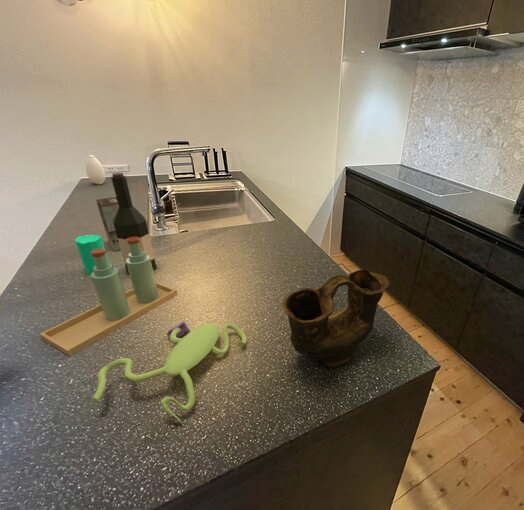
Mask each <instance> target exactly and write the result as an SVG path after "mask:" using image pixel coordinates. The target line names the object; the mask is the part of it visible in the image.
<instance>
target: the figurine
mask: <svg viewBox="0 0 524 510" xmlns="http://www.w3.org/2000/svg"><path fill="white" fill-rule="evenodd" d="M227 329H230V330H233V331H234V332H235V333H237V334H238V336H239V337H240V339H241V341H239V342H238V344H237V345H238V346H239V347H244V346H245V345H246V344H247V341H248V340H247V339H248V338H247V336H246V333H245V332H244V331H243V330H242V329H241V328H240V327H239V326H238V325H236V324H233V323H226V324H225V325H223V327H222V336H223V348H222V349H220V348H219V347H216V346H215V345H216V343H217V341H218V339H219V335H220V329H219V326H218V325H217V324H215V323H205V324H202V325H200V326H197V327H195V328H194V329H193V330H191V331H190V328H189V327H188V324H187V323H186V321H185V320H183V321H181V322H180V323H178V324H177V325H175V326H174V327H173V328H171V329H170V330H168V331H167V332H166V333H165V334H166V336H168V339H169V340H170V341H171V342H172V343H174V344H175V345H174V347H173V348H172V350H171V351H170V352H169V354H168V355H167V356H166V360H165V362H164V365H163V366H162V367H160V368H157V369H154V370H151V371H149V372H145V373H142V374H141V373H140V374H135V373H133V372H132V369H133V359H131V358H129V357H124V358H123V357H122V358H118V359H115V360H113V361H111V362H109V363H107V364H106V365H104V366H103V367H102V368H101V369H100V370H99V371H98V373H97V381H98V385H97V389H96V391H95V393H94V394H93V396H92V397H91V399H92V401H93V402H94V403H95V404H98V403H99V401H100V400H101V398H102V397H103V395H104V393H105V391H106V386H107V373H108V372H109V371H110V370H112V369H114V368H116V367H119V366H122V365H125V368H124V377H125V379H127V380H129V381H130V382H135V383H139V382H144V381H147V380H150V379H154V378H156V377H159V376H161V375H164V374H167V375H168V376H173V377H175V376H179V375H180V377H181V378H182V380H183V381H184V383H185V387H186V391H187V396H188V399H187V400H188V401H187V403H186V404H185V405H184V404H181V403H180V402H178V401H177V400H176V399H175V398H174V397H171V396H168V395H167V396H165V397H163V399H161V400H160V405H161V407H162V408H163V409H164V410H165V411H166V412H167V413H168V414H170V415H171V416H173V417H174V418H176V419H177V420H178V421H179V423H180V424H183V422H182V421H181V419H180V418H179V417H178V416H177V415H176V413H175V412H173V411H172V409H171V408H170V407H169V405H168V403H170V402H171V401H172V402H173V403H175V404H176V406H178V407H179V408H180V409H181V410H182V411H183V412H190V411H191V410H192V408H193V407H195V402H196V394H195V393H196V392H195V388H194V383H193V380H192V378H191V376H190V375H189V370H191V369H193V368H194V367H196V366H197V365H198V364H199V363H201V361H202V360H203V359H205V357H207V355H208V354H209V353H210V352H211V353H213V354H214V355H218V356H224V355H226V353H227V352H228V349H229V346H230V338H229V334H228V331H227ZM183 335H184V336H183ZM181 336H183V338H180V337H181Z"/></svg>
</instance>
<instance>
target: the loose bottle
mask: <svg viewBox="0 0 524 510" xmlns="http://www.w3.org/2000/svg"><path fill="white" fill-rule="evenodd" d="M3 312H4V306H3V304H2V302H1V301H0V315H1V314H2V313H3Z"/></svg>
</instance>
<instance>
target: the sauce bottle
mask: <svg viewBox="0 0 524 510" xmlns="http://www.w3.org/2000/svg"><path fill="white" fill-rule="evenodd" d="M85 172H86V175H87V177H88V178H89V180H90V181H91V182H92V183H94V184H95V185H101V184H103V183H104V182H105V180H106V171H105V169H104V166H103V165H102V164H101V162H100V161H99V160H98V159H97V157H95V155H92V152H91V151H89V154H88V158H87V159H86V163H85Z"/></svg>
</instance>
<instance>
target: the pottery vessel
mask: <svg viewBox="0 0 524 510" xmlns="http://www.w3.org/2000/svg"><path fill="white" fill-rule="evenodd" d="M389 284H390V282H389V280H388V278H387V276H385V275H383V274H379V273H378V272H372V271H369V270H365V269H358V270H355V271H352V272H349V273H347V274H337V275H333V276H331V277H330V278H328V279H327V280H326V282H324V284H322V285H321V286H319V287H318V288H317V287H304V288H299V289H296V290H295V291H293V292H291V293H289V294H288V296H287V297H286V298H284V300H282V303H281V304H282V306H283V311H284V313H285V314H286V315H287V317H288V323H289V327H290V336H289V340H290V342H291V345H292V347H293V349H294V351H296V352H297V353H299V354H301V355H304V356H309V357H312V359H313V360H314V362H319V361H322V362H324V365H326V366H328V367H329V368H332V369H334V368H336V367H340V366H343V365H345V364H348V363H349V362H350V360H351V358H352V357H353V355H354V353H355V352H356V351H357V350H358V349H360V347H359V344H361V343H363V342H364V341H365V340H366V339H368V338H367V337H368V336H369V335H370V333H372V331H373V329H374V324H375V317H376V313H377V310H378V304H379V303H380V301H381V299H382V297H383V295H384V292H385V290H387V288H388V287H389V286H390V285H389ZM343 286H347V297H346V298H347V299H346V301H347V303H348V304H347V305H346V306H344V307H342V308H341V309H340V308H339V310H336V311H335V303H334V297H335V295H336V294H337V292H338V288H340V287H343Z"/></svg>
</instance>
